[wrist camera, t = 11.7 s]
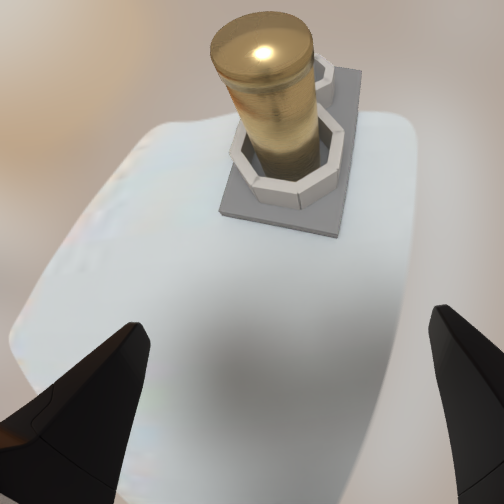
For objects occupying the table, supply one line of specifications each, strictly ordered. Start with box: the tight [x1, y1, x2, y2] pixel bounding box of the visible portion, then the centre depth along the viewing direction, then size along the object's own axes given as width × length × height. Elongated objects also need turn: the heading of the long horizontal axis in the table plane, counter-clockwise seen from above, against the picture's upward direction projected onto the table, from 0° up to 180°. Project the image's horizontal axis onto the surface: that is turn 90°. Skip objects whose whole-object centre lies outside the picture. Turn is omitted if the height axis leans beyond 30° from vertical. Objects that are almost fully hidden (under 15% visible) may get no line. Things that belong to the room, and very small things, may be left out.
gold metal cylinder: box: [210, 11, 321, 182], centre depth 18 cm, size 5×5×12 cm
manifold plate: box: [219, 54, 362, 238], centre depth 23 cm, size 16×9×4 cm, turn 165°
